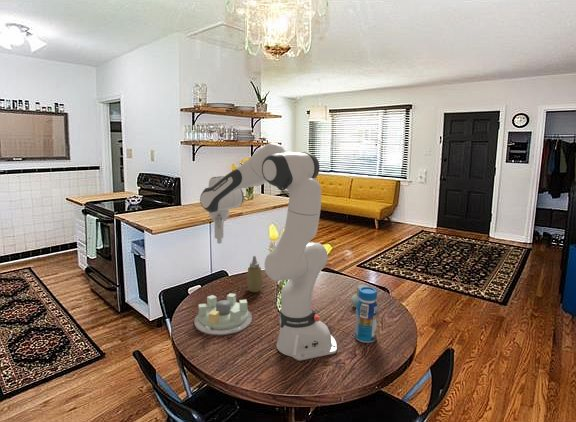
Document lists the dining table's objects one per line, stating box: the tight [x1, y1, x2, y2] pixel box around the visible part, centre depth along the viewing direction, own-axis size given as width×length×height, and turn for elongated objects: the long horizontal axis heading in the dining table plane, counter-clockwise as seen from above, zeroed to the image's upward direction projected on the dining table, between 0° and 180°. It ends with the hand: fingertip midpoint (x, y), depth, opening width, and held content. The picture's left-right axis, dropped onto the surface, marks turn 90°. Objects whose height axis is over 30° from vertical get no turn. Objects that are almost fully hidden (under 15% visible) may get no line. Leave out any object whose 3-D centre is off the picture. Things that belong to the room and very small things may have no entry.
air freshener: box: [350, 284, 370, 309], centre depth 168 cm, size 11×8×10 cm
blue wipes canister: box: [354, 286, 379, 344], centre depth 142 cm, size 8×8×20 cm
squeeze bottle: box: [246, 255, 263, 293], centre depth 184 cm, size 8×8×18 cm
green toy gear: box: [197, 292, 249, 330], centre depth 155 cm, size 21×21×6 cm
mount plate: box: [193, 310, 253, 336], centre depth 155 cm, size 24×24×3 cm
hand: (219, 242), depth 165 cm, fingers closed
